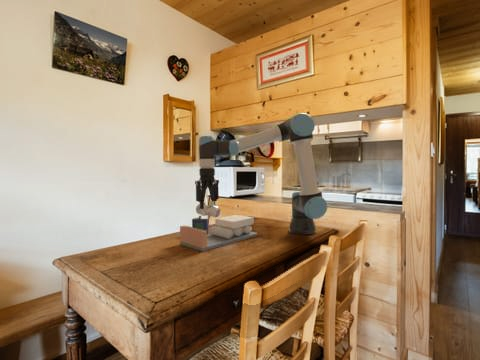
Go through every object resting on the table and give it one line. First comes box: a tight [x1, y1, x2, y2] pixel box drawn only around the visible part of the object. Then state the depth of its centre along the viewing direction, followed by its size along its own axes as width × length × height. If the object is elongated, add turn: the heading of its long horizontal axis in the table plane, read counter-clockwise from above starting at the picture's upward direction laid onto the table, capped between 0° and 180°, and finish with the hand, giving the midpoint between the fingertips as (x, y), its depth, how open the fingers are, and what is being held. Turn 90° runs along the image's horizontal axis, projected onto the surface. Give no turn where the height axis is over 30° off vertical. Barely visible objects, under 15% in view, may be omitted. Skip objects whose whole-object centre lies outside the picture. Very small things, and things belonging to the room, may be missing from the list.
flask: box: [191, 215, 209, 235], centre depth 153 cm, size 9×3×11 cm, turn 88°
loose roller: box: [195, 203, 221, 218], centre depth 134 cm, size 13×5×5 cm, turn 45°
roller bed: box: [179, 224, 259, 252], centre depth 140 cm, size 18×38×9 cm, turn 135°
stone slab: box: [214, 214, 255, 229], centre depth 147 cm, size 14×16×4 cm
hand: (207, 214), depth 134 cm, fingers closed on loose roller, 5 cm apart
